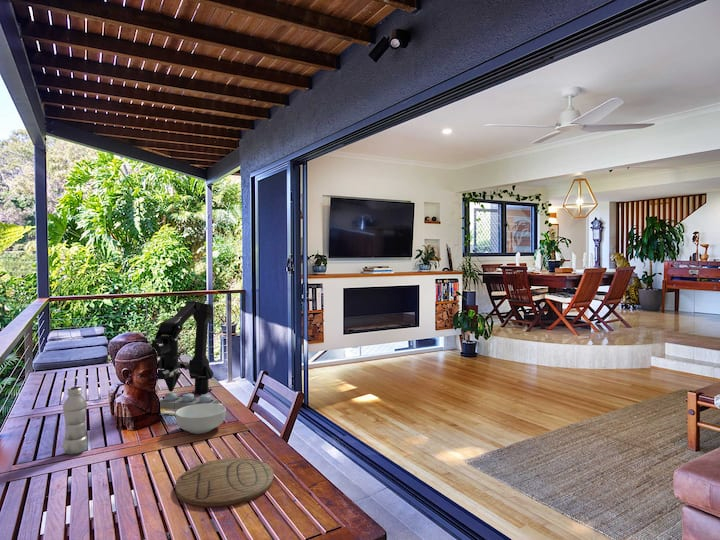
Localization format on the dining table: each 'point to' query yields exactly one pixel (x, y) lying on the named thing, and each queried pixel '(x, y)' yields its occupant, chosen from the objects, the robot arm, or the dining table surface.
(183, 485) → the trivet
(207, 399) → the button
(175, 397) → the button
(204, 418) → the cereal bowl
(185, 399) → the button
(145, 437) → the dining table surface
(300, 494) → the dining table surface
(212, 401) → the board
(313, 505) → the dining table surface
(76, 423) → the plastic bottle
